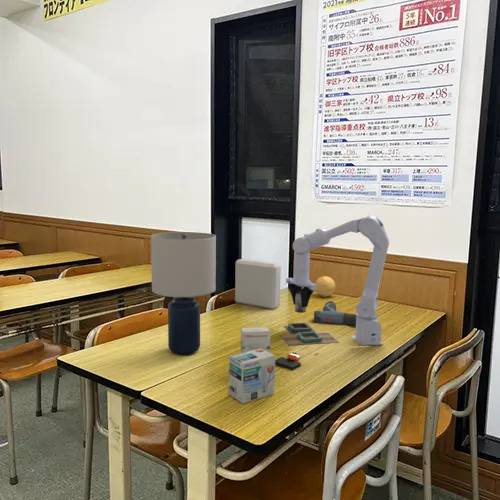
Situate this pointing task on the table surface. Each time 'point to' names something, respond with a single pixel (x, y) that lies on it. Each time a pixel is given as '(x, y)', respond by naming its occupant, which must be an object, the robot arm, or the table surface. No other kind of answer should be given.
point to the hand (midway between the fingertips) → (300, 305)
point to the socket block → (298, 328)
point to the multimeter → (289, 361)
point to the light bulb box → (251, 375)
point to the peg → (299, 303)
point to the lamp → (183, 282)
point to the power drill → (333, 315)
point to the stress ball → (325, 286)
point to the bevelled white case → (257, 283)
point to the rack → (309, 338)
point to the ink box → (255, 339)
